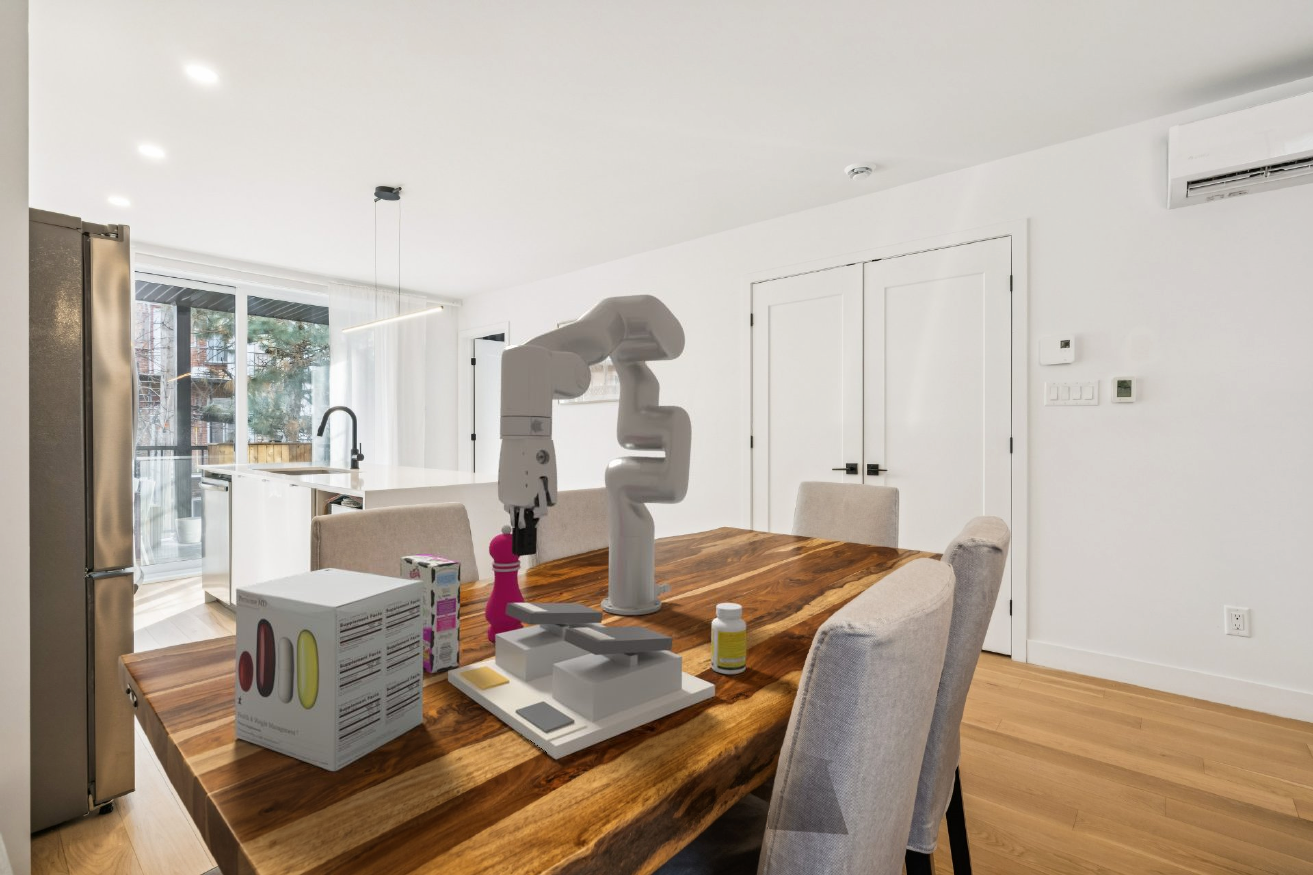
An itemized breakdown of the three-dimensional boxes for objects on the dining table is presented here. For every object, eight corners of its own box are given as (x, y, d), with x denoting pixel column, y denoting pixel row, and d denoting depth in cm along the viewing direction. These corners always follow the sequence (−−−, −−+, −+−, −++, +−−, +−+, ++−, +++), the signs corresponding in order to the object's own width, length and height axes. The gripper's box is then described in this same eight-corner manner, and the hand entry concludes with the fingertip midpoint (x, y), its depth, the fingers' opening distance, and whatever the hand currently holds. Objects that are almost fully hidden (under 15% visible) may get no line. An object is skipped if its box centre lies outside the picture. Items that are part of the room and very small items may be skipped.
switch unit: (592, 642, 109) (592, 599, 109) (714, 695, 87) (715, 641, 87) (446, 681, 91) (446, 630, 91) (553, 760, 69) (553, 693, 69)
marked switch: (575, 612, 103) (577, 602, 103) (601, 622, 97) (603, 611, 98) (505, 613, 94) (507, 601, 94) (529, 624, 89) (531, 612, 89)
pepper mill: (531, 631, 114) (532, 522, 114) (519, 644, 107) (519, 528, 107) (493, 629, 115) (494, 521, 115) (478, 642, 108) (479, 527, 108)
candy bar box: (461, 666, 97) (462, 561, 97) (431, 675, 93) (432, 566, 93) (427, 649, 105) (427, 551, 105) (397, 656, 101) (398, 555, 101)
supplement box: (229, 741, 73) (230, 588, 73) (329, 697, 85) (330, 566, 85) (333, 775, 66) (334, 605, 66) (426, 722, 78) (427, 579, 78)
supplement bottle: (753, 670, 96) (753, 607, 96) (725, 678, 93) (726, 612, 93) (731, 660, 101) (731, 599, 101) (704, 666, 98) (704, 604, 98)
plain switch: (638, 637, 91) (640, 624, 91) (671, 649, 85) (673, 636, 86) (564, 640, 82) (566, 627, 82) (595, 655, 77) (597, 640, 77)
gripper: (576, 430, 89) (574, 558, 89) (523, 430, 100) (521, 545, 100) (529, 428, 84) (527, 565, 84) (479, 429, 95) (477, 550, 95)
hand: (524, 554), depth 92 cm, fingers closed
